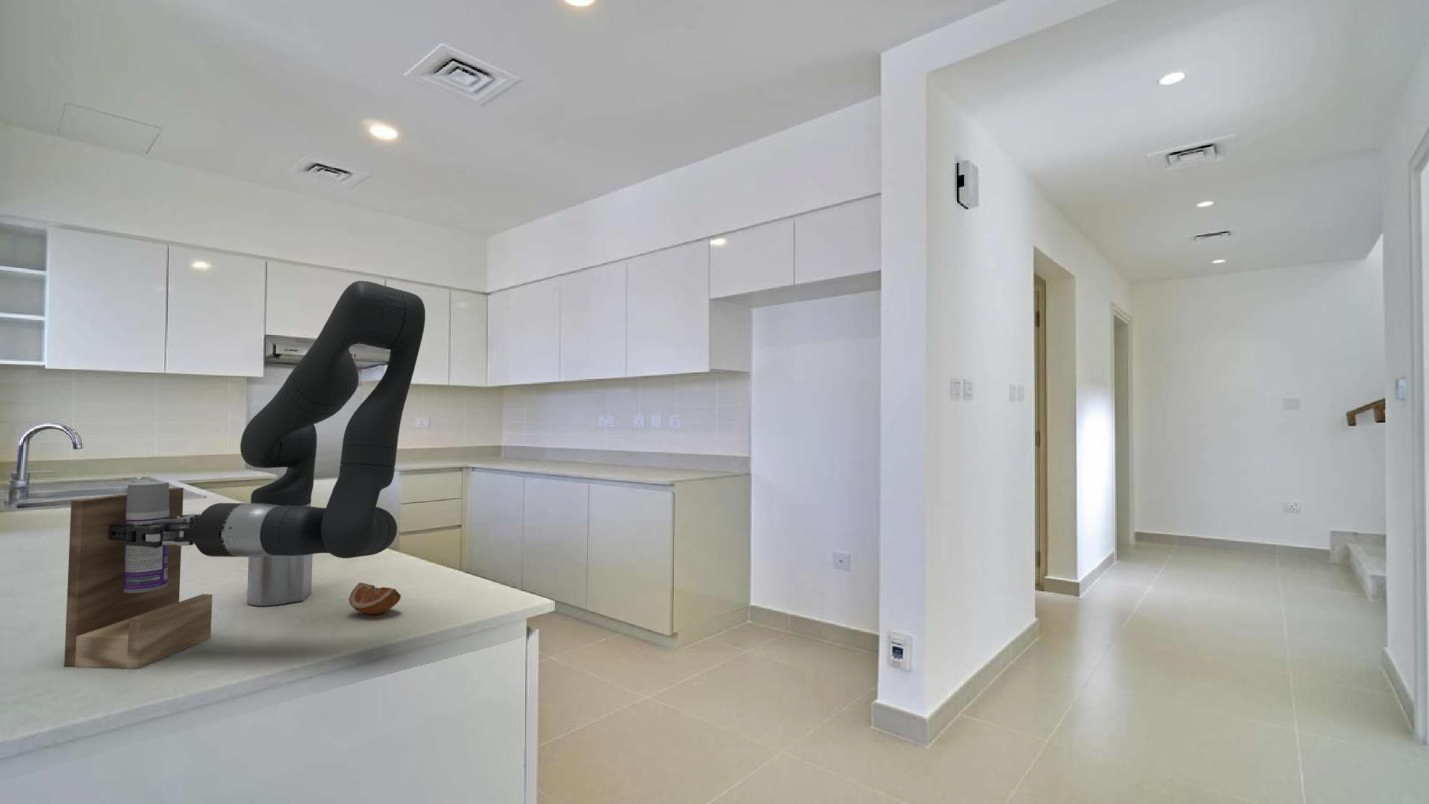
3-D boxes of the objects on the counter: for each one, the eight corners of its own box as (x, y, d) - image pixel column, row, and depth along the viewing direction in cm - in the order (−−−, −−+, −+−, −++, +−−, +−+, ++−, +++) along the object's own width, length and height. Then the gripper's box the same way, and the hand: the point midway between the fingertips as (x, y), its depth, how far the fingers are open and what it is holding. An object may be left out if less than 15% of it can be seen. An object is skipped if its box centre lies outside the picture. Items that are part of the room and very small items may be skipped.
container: (141, 584, 93) (144, 481, 94) (175, 584, 94) (178, 481, 94) (114, 593, 89) (117, 484, 89) (150, 592, 89) (153, 484, 90)
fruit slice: (408, 612, 111) (409, 583, 111) (375, 623, 105) (376, 593, 105) (373, 606, 114) (374, 578, 114) (339, 617, 108) (340, 587, 108)
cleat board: (231, 628, 101) (236, 488, 102) (137, 668, 85) (144, 502, 86) (168, 627, 101) (174, 487, 102) (64, 666, 85) (71, 500, 86)
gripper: (281, 497, 98) (172, 496, 99) (206, 510, 84) (78, 509, 84) (280, 546, 98) (170, 544, 99) (204, 568, 84) (76, 566, 84)
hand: (129, 528), depth 92 cm, fingers closed on container, 4 cm apart
